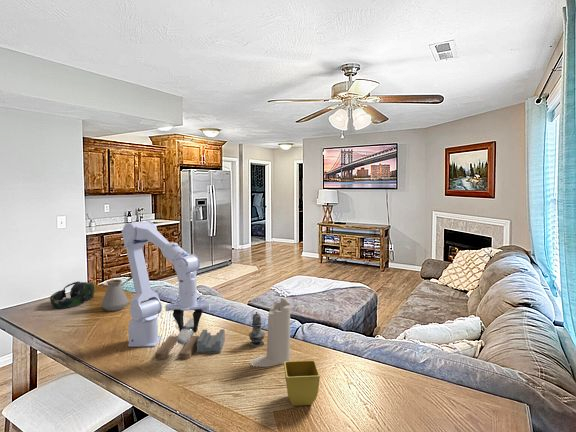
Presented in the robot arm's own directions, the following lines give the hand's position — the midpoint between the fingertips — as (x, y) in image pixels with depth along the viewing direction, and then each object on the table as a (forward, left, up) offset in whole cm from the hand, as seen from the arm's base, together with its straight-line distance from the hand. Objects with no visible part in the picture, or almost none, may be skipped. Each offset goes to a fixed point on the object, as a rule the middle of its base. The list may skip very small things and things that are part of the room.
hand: (188, 331), depth 122 cm
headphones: (-69, +56, -9) cm, 90 cm away
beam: (-5, +5, -8) cm, 11 cm away
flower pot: (+36, -26, -9) cm, 46 cm away
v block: (+6, +7, -8) cm, 12 cm away
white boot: (+27, -4, -9) cm, 29 cm away
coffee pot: (-44, +52, -9) cm, 68 cm away
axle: (0, -1, 0) cm, 1 cm away
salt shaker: (+22, +9, -9) cm, 25 cm away
